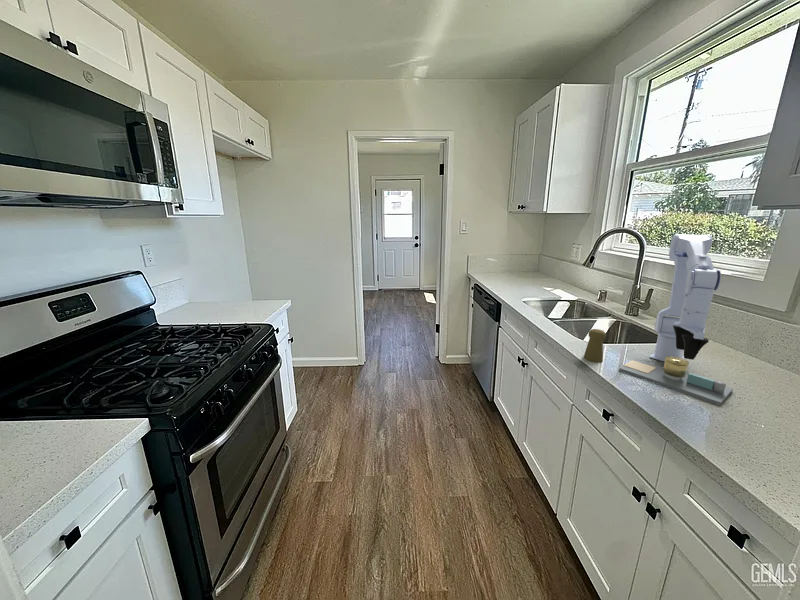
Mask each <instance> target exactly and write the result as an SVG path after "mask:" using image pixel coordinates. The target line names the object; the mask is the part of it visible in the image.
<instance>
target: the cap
mask: <svg viewBox="0 0 800 600" xmlns="http://www.w3.org/2000/svg"><path fill="white" fill-rule="evenodd" d="M689 365H690V360H688V359H683V358H679V357H674V356H666V357H665V362H664V365H663V367H664V368H663V372H664V373H666V374H668V375H670V376H674V377H685V375H686V374H687V371H688V366H689Z"/></svg>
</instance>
